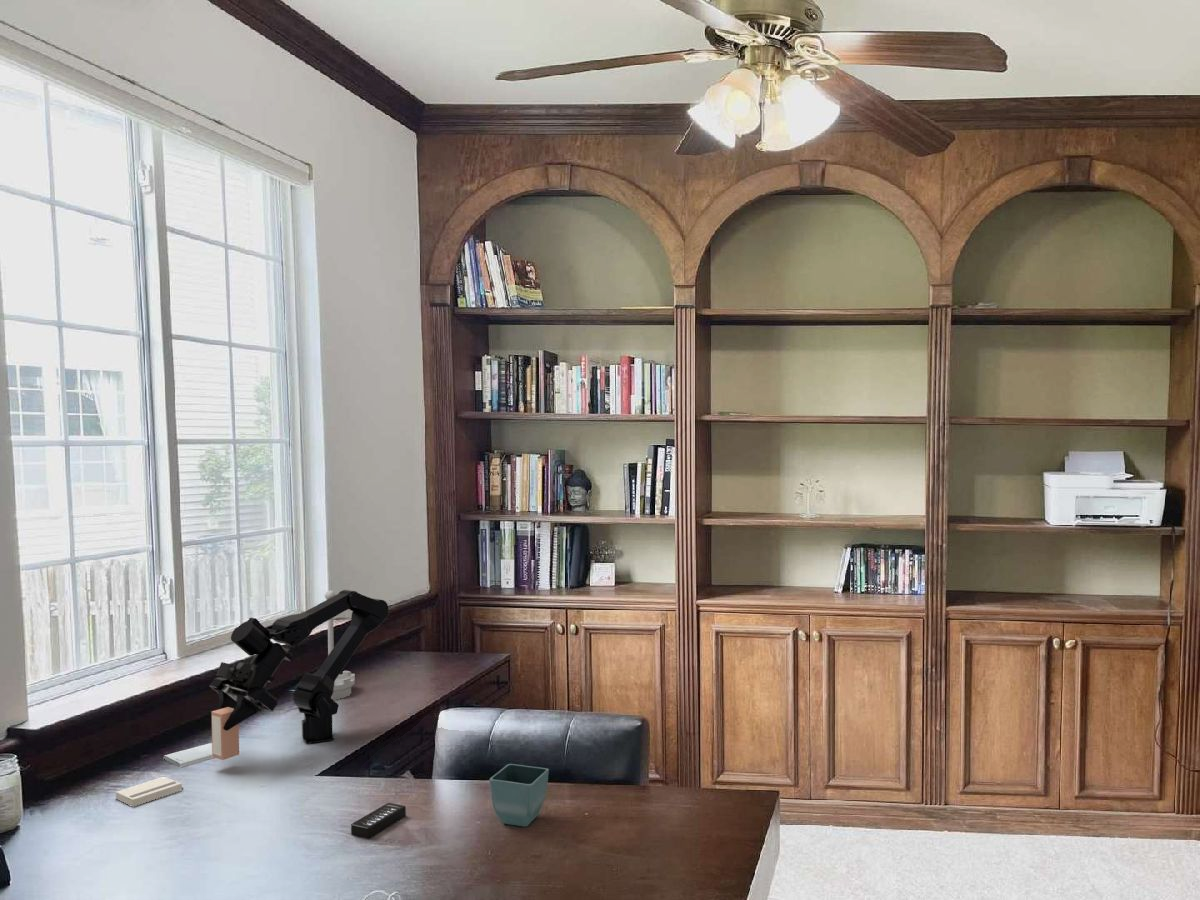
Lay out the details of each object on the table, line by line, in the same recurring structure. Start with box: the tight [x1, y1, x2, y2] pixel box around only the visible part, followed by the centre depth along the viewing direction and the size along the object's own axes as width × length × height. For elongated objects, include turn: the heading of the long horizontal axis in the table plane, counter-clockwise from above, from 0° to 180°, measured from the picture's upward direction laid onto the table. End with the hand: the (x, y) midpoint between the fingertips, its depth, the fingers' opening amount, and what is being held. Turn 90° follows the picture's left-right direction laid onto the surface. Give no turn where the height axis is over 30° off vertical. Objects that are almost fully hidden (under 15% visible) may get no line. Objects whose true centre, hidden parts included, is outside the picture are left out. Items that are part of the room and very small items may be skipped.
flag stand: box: [324, 589, 356, 701], centre depth 254 cm, size 13×13×30 cm
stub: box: [210, 707, 240, 761], centre depth 196 cm, size 4×4×10 cm
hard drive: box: [162, 742, 216, 768], centre depth 205 cm, size 2×8×12 cm
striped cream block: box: [115, 776, 184, 808], centre depth 183 cm, size 11×7×2 cm, turn 144°
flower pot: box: [489, 763, 550, 827], centre depth 168 cm, size 9×9×9 cm
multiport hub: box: [350, 802, 407, 840], centre depth 167 cm, size 4×11×2 cm, turn 155°
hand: (219, 727), depth 195 cm, fingers closed on stub, 4 cm apart
